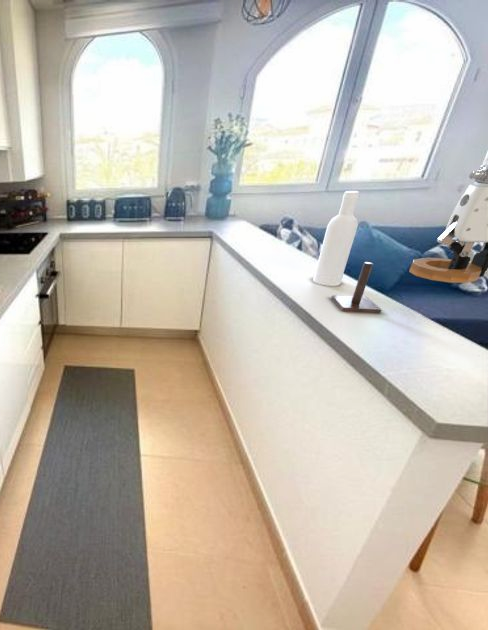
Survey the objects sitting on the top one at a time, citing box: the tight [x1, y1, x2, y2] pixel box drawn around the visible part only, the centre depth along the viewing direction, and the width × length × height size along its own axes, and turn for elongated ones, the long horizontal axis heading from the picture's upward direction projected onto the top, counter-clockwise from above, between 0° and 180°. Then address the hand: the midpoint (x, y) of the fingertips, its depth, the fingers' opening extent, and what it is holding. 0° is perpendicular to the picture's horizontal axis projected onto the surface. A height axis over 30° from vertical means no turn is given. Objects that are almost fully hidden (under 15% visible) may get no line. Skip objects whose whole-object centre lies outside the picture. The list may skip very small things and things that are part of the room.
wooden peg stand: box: [330, 261, 382, 315], centre depth 98 cm, size 9×9×14 cm
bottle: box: [312, 190, 360, 287], centre depth 112 cm, size 8×8×30 cm
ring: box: [409, 257, 481, 284], centre depth 69 cm, size 10×10×2 cm
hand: (465, 273), depth 69 cm, fingers closed on ring, 2 cm apart
